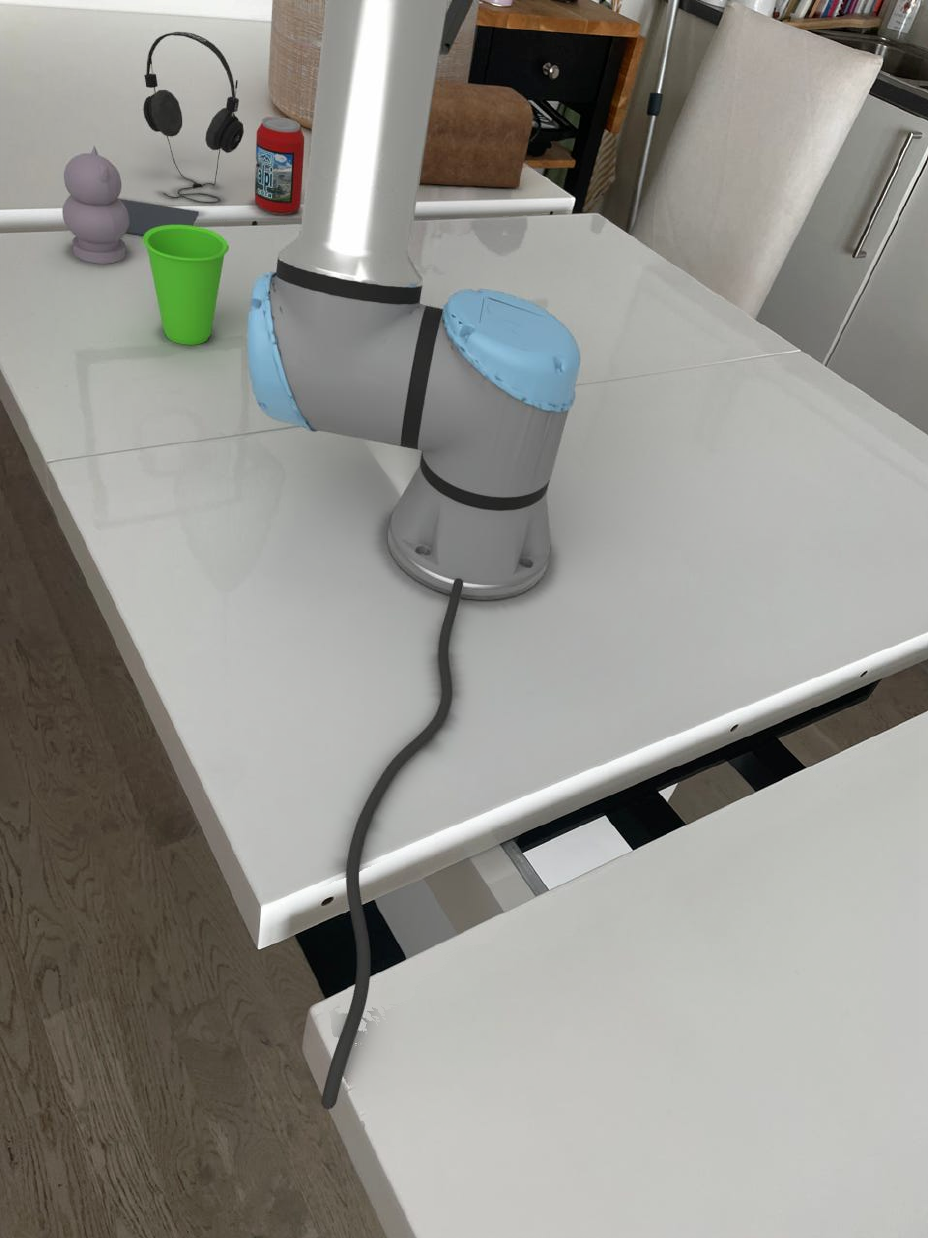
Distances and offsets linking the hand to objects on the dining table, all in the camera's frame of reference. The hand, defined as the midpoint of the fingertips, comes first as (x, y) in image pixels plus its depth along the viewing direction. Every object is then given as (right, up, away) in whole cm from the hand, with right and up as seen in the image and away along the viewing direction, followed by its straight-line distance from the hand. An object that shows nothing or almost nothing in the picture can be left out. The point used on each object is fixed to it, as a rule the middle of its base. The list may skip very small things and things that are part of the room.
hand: (400, 112), depth 117 cm
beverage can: (-20, +1, +30) cm, 37 cm away
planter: (-11, +35, +71) cm, 80 cm away
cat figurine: (-39, -14, +9) cm, 42 cm away
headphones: (-34, +4, +31) cm, 46 cm away
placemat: (-36, -5, +19) cm, 41 cm away
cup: (-25, -28, -3) cm, 37 cm away
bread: (0, +17, +54) cm, 56 cm away
